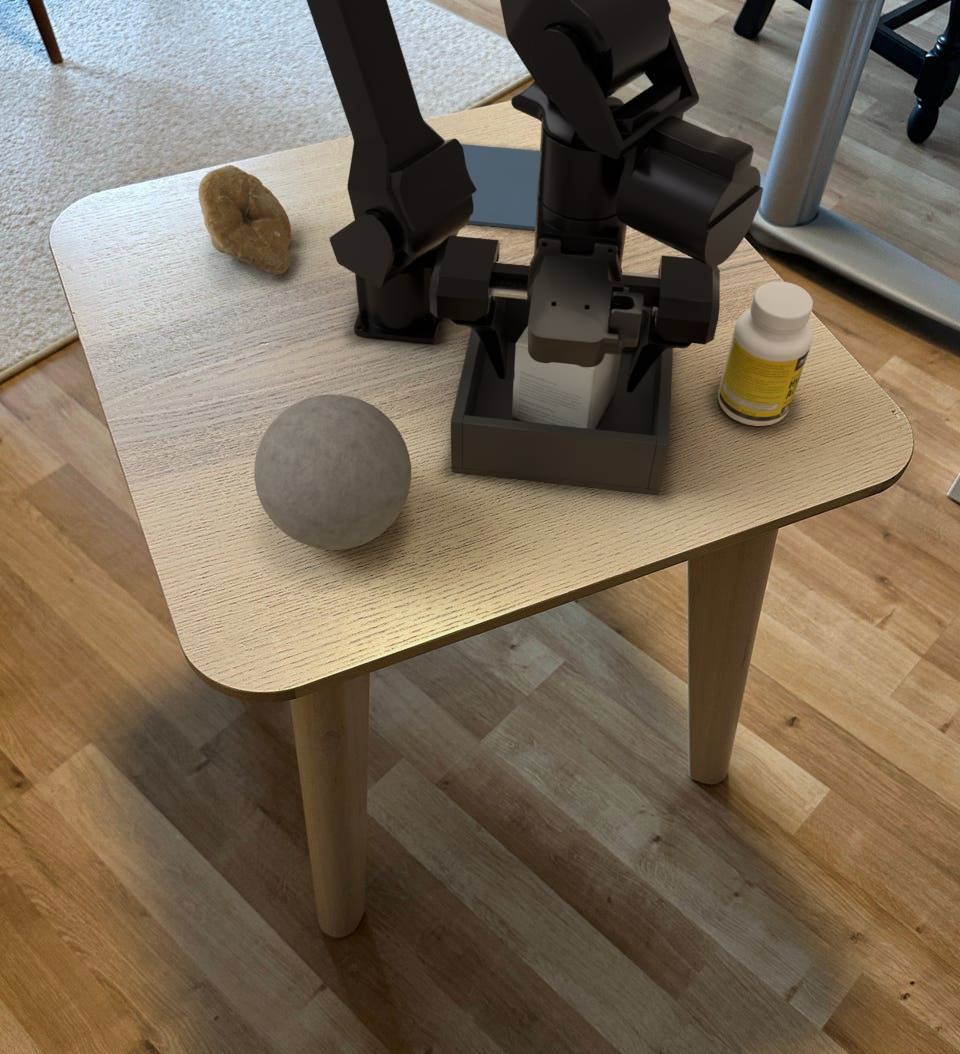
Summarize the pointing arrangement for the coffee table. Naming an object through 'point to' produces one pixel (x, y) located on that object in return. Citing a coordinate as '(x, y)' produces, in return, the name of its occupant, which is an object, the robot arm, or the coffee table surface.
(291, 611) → the coffee table surface
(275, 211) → the fossil
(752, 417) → the supplement bottle
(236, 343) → the coffee table surface
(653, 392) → the bin
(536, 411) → the product carton
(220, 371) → the coffee table surface
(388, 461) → the decorative ball
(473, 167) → the mat
